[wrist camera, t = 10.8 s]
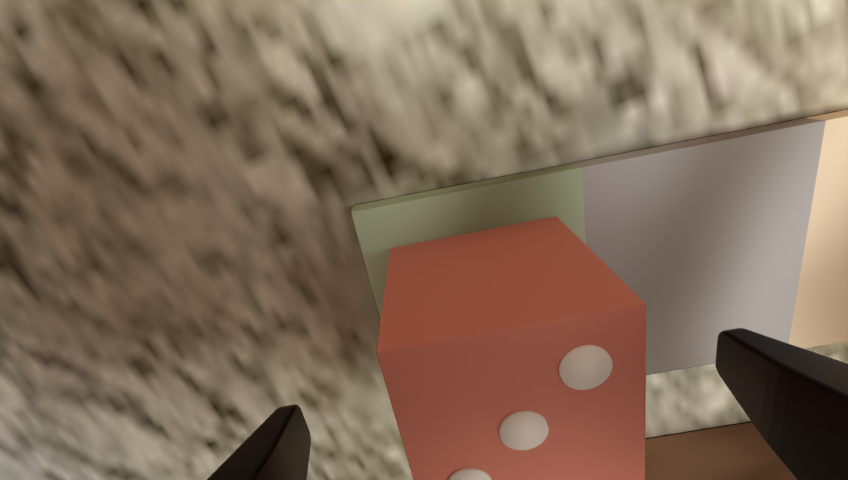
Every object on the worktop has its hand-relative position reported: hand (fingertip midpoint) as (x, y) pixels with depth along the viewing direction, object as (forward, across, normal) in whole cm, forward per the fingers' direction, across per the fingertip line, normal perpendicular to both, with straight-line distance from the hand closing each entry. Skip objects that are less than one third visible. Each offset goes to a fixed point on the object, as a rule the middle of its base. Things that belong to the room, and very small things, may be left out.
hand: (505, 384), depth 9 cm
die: (+3, 0, 0) cm, 3 cm away
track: (+4, -6, 0) cm, 7 cm away
